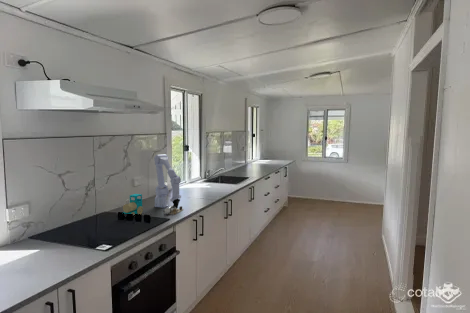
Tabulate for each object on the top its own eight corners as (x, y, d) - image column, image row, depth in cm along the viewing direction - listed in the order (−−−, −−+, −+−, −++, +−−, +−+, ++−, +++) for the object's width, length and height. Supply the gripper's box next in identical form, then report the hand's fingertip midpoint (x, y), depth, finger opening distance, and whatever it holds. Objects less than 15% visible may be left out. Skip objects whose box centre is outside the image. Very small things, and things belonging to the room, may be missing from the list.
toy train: (120, 218, 225) (119, 198, 224) (134, 212, 241) (134, 193, 240) (128, 219, 223) (128, 199, 221) (143, 213, 238) (142, 194, 237)
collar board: (163, 213, 237) (163, 208, 237) (172, 208, 251) (172, 204, 250) (175, 214, 235) (175, 209, 234) (183, 209, 248) (183, 205, 248)
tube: (165, 215, 232) (169, 212, 231) (162, 211, 232) (165, 208, 231) (173, 211, 245) (177, 208, 244) (170, 206, 246) (174, 204, 245)
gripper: (176, 193, 237) (176, 211, 238) (184, 190, 251) (184, 206, 252) (167, 193, 239) (168, 210, 240) (176, 189, 253) (176, 205, 254)
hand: (176, 208), depth 246 cm, fingers closed
